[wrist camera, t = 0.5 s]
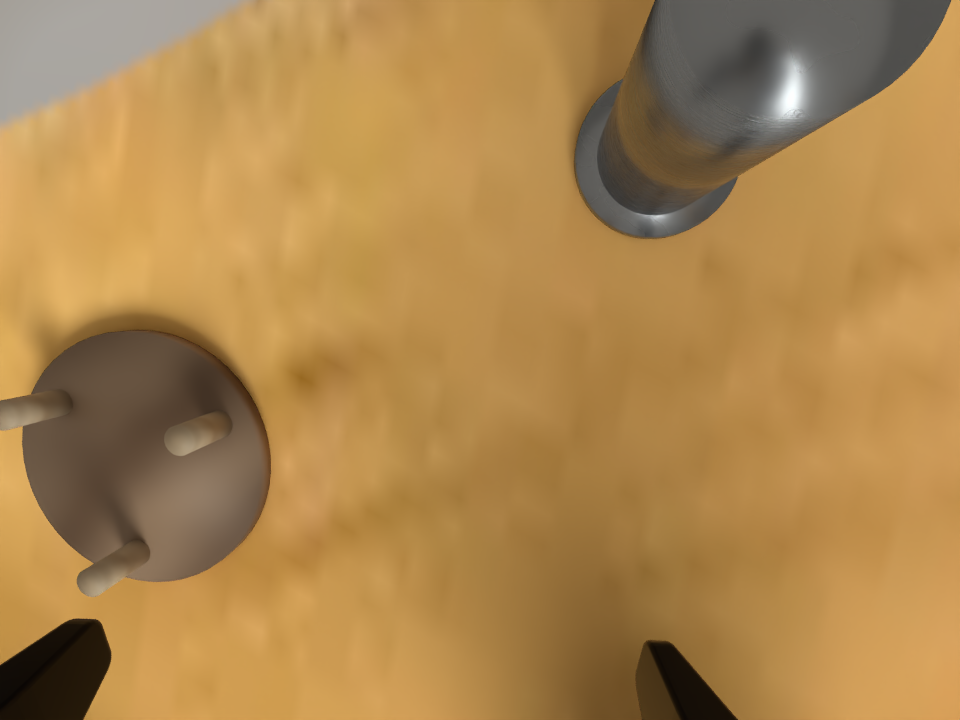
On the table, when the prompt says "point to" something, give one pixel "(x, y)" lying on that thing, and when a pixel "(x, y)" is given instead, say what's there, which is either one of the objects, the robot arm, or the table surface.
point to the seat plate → (143, 456)
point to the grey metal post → (733, 98)
